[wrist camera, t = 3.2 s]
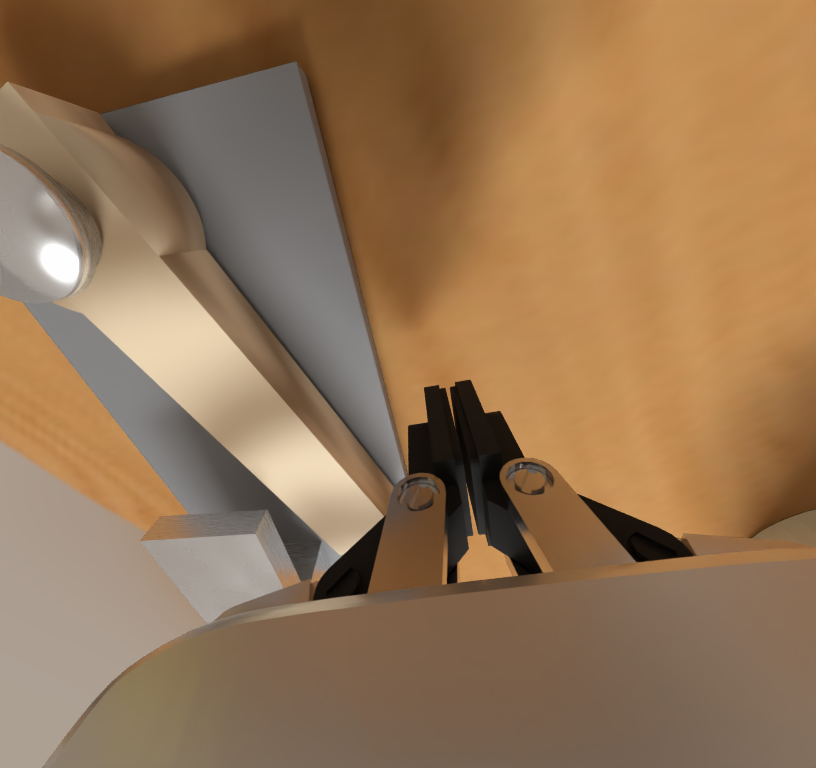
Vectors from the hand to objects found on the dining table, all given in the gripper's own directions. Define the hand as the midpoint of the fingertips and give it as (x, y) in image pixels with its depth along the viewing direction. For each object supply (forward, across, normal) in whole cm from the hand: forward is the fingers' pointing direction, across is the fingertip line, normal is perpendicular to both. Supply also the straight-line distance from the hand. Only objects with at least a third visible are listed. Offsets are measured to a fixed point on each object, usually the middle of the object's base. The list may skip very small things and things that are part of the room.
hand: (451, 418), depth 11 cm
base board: (+4, +10, +1) cm, 11 cm away
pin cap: (0, +10, -8) cm, 13 cm away
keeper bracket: (+4, +12, +8) cm, 15 cm away
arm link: (+3, +8, -2) cm, 9 cm away
